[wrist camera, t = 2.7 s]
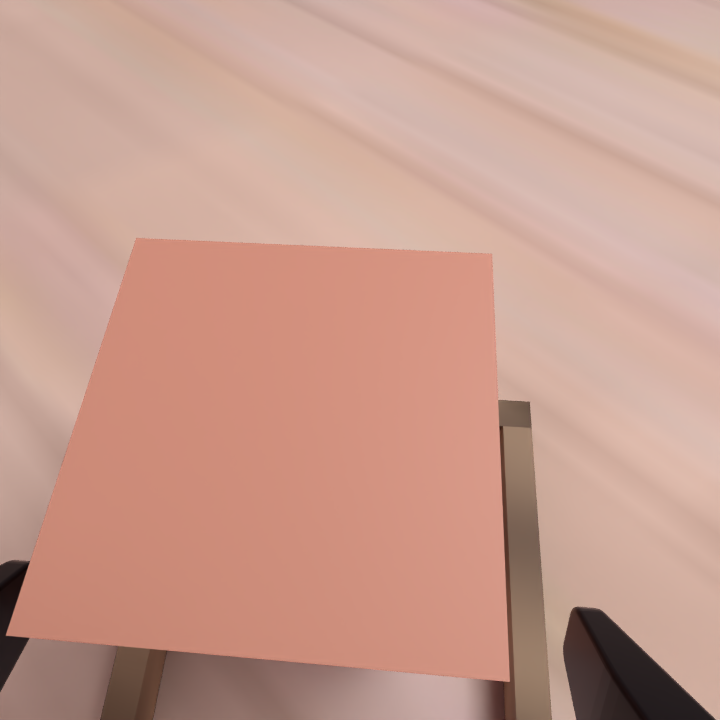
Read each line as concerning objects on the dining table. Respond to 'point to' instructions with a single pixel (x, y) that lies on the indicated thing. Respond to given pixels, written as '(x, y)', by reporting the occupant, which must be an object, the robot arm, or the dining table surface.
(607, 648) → the robot arm
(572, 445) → the dining table surface
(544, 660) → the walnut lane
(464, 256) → the salmon-pink block
